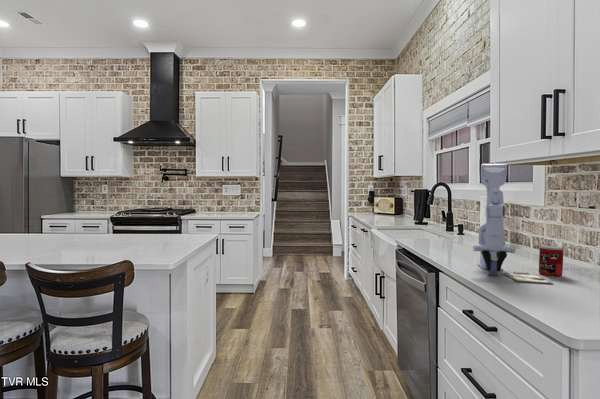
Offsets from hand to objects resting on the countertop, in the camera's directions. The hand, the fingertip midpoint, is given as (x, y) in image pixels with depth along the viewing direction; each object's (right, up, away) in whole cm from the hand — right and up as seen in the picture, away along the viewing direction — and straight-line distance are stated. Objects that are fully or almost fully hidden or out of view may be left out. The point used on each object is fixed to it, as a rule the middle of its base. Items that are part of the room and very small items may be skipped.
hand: (493, 270), depth 151 cm
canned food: (+24, -2, +3) cm, 24 cm away
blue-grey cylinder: (0, -2, 0) cm, 2 cm away
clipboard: (+10, -2, -5) cm, 12 cm away
